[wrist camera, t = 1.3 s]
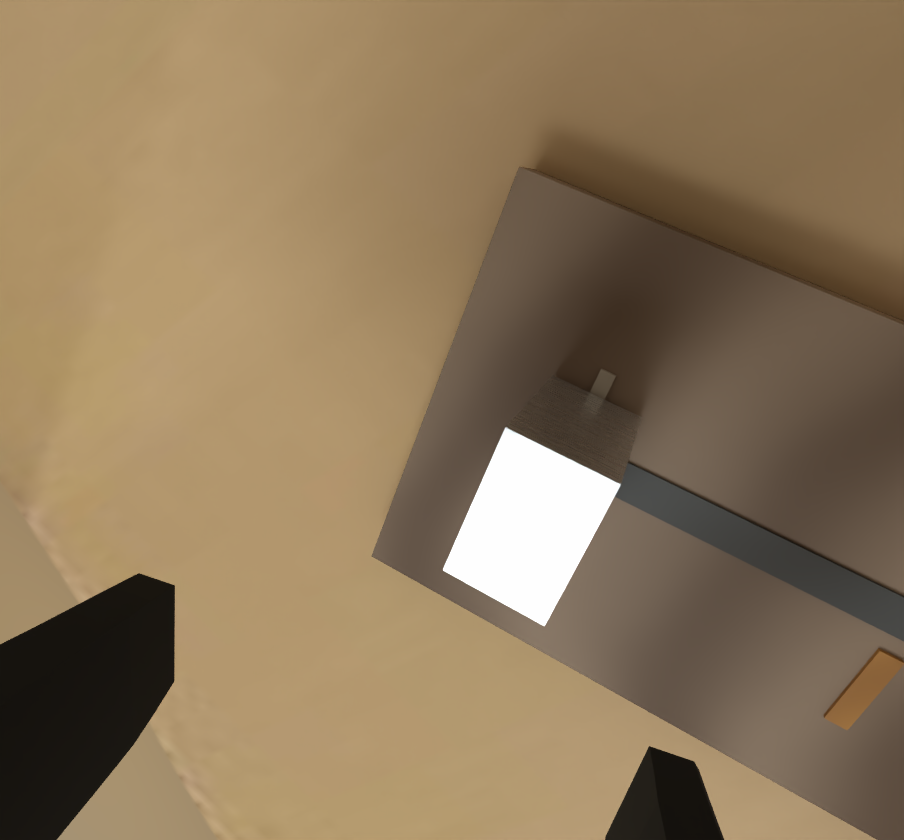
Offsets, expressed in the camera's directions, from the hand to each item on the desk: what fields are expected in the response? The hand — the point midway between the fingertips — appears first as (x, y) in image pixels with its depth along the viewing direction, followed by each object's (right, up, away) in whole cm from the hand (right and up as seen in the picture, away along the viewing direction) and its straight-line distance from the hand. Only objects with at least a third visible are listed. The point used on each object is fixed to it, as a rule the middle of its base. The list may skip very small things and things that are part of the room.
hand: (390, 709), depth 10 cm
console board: (+10, +1, +8) cm, 13 cm away
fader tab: (+4, +3, +8) cm, 9 cm away
